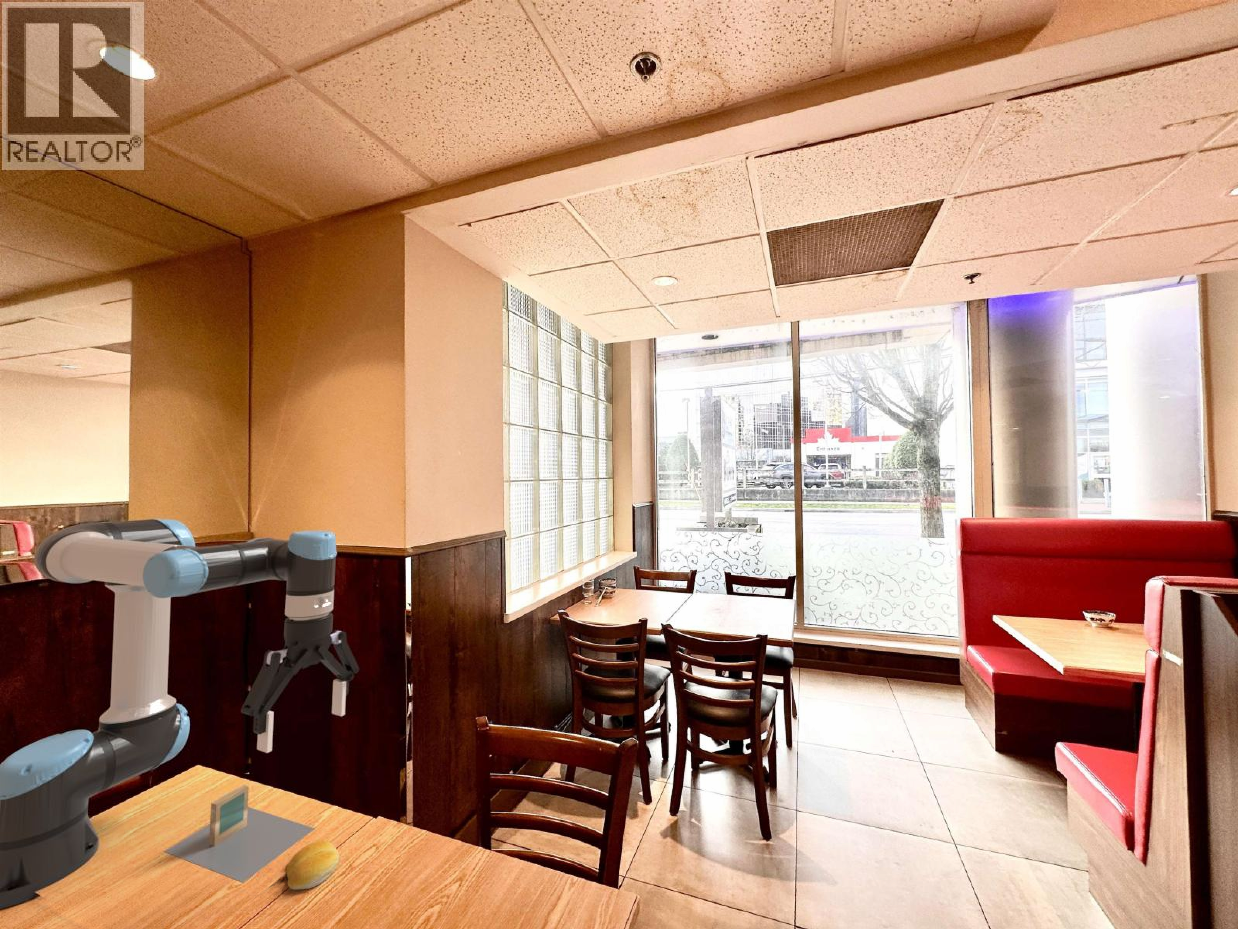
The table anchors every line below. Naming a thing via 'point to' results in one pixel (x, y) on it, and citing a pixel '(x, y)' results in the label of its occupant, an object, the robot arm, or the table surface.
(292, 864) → the bread roll
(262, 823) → the slate board
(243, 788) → the light wood flat block
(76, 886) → the table surface
